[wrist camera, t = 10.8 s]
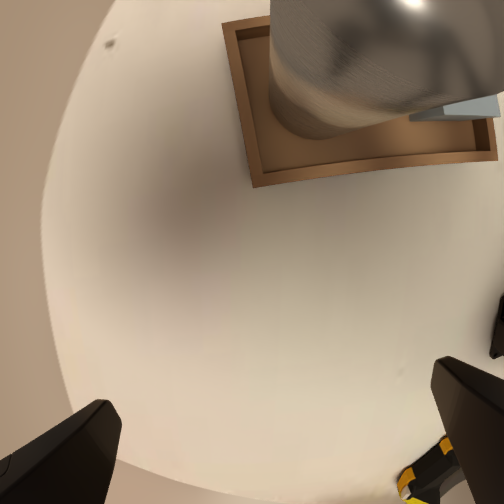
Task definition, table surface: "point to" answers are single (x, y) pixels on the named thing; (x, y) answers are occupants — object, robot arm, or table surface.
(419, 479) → the gaming controller
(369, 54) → the metal cylinder
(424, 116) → the pale grey cube
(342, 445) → the table surface
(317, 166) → the walnut tray
